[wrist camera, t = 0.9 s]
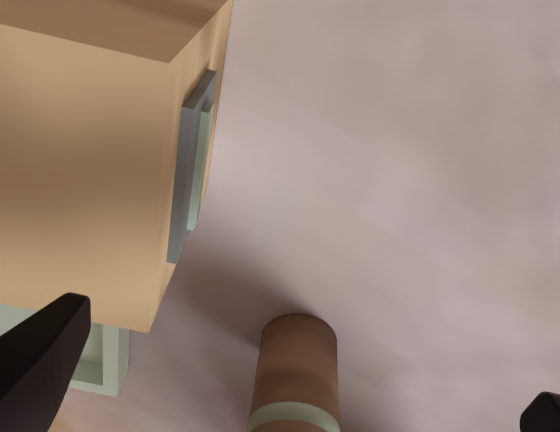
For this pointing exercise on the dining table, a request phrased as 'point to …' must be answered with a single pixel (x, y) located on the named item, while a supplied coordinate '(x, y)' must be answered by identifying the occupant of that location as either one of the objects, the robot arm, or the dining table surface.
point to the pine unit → (104, 147)
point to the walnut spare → (296, 377)
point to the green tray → (88, 353)
